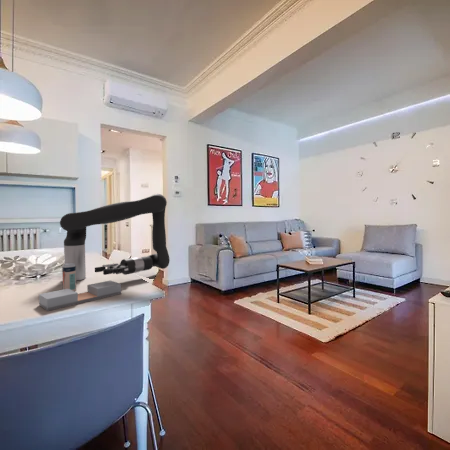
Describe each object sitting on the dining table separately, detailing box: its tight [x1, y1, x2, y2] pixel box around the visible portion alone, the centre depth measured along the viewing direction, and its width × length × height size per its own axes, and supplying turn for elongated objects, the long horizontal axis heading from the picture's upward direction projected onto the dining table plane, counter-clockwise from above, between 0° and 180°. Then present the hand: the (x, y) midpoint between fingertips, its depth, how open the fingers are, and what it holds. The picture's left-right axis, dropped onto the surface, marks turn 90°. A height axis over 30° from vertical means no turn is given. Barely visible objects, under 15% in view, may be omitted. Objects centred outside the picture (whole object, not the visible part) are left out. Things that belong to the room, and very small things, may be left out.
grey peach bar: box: [38, 280, 122, 312], centre depth 102 cm, size 9×26×4 cm, turn 139°
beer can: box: [61, 263, 77, 292], centre depth 111 cm, size 5×5×12 cm
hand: (99, 271), depth 120 cm, fingers open, 8 cm apart
